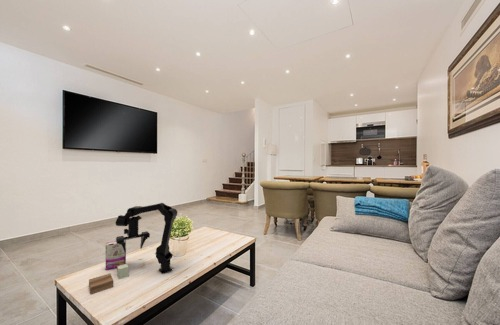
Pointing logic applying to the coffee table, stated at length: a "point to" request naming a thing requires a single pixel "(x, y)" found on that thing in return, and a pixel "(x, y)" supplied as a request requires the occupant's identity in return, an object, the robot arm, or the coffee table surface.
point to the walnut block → (100, 283)
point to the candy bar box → (115, 255)
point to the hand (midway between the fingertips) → (133, 250)
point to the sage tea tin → (122, 271)
